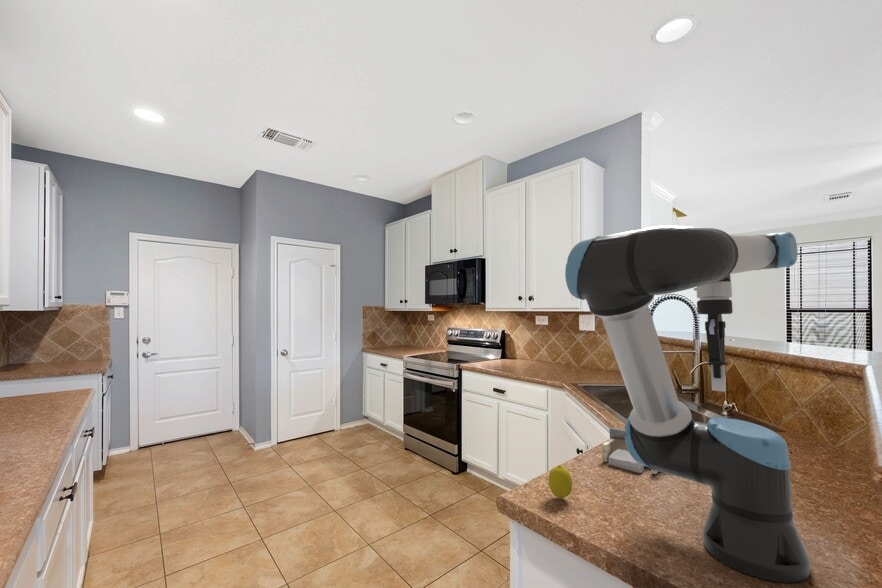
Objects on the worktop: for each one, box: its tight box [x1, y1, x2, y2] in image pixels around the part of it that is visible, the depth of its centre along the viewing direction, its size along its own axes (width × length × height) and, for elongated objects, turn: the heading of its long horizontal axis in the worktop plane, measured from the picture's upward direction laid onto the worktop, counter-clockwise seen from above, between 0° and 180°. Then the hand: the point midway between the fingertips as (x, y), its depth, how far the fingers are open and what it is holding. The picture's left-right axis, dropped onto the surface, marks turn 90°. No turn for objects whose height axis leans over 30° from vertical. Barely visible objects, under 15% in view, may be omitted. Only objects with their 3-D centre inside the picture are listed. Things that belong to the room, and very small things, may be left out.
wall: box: [609, 426, 626, 440], centre depth 118 cm, size 2×16×8 cm, turn 47°
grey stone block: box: [607, 449, 645, 474], centre depth 113 cm, size 10×6×6 cm, turn 41°
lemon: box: [548, 464, 573, 500], centre depth 93 cm, size 6×6×8 cm
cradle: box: [601, 438, 660, 475], centre depth 114 cm, size 8×14×5 cm, turn 47°
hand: (718, 390), depth 99 cm, fingers closed
